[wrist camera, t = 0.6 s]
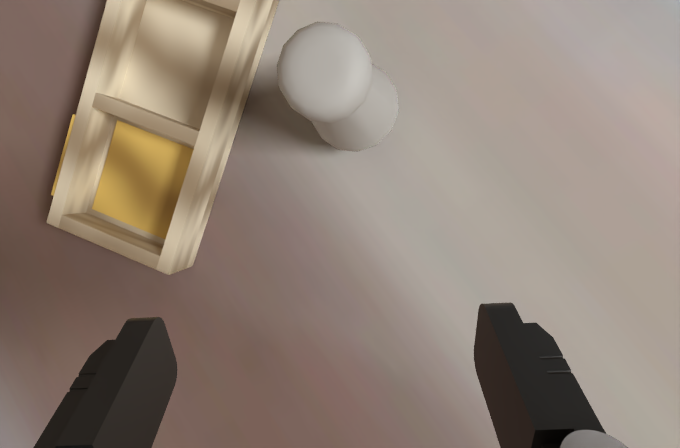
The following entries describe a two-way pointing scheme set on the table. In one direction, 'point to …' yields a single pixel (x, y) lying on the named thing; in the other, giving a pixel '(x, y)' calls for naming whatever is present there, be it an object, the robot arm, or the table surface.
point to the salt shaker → (337, 86)
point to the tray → (158, 124)
